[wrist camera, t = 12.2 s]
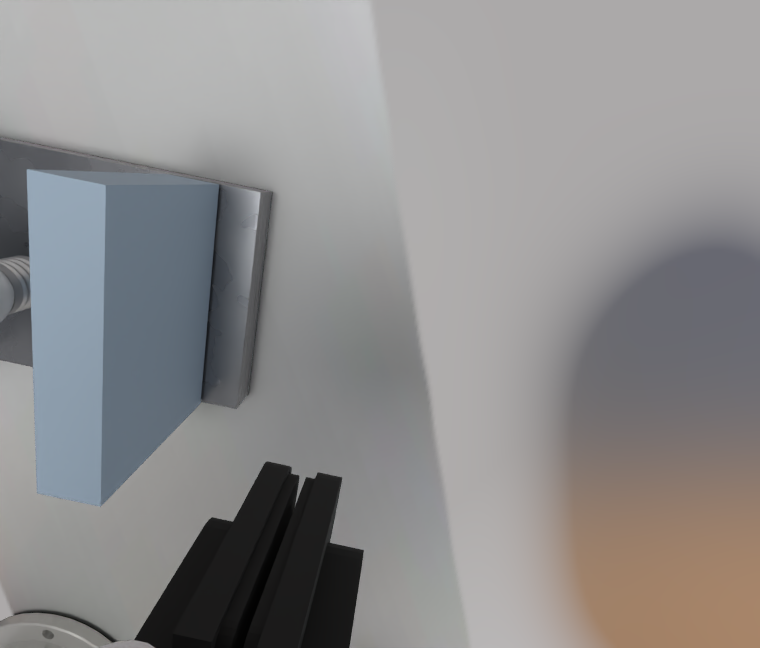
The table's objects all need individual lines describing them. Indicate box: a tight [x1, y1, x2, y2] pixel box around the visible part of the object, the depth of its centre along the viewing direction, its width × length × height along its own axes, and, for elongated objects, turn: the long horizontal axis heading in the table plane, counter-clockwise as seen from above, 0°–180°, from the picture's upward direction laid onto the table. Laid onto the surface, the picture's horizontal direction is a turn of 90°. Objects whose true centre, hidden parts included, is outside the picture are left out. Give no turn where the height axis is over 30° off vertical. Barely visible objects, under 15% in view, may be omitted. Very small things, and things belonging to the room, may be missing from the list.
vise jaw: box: [27, 169, 219, 507], centre depth 20 cm, size 12×2×9 cm, turn 169°
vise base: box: [0, 137, 272, 409], centre depth 22 cm, size 12×18×11 cm, turn 79°
